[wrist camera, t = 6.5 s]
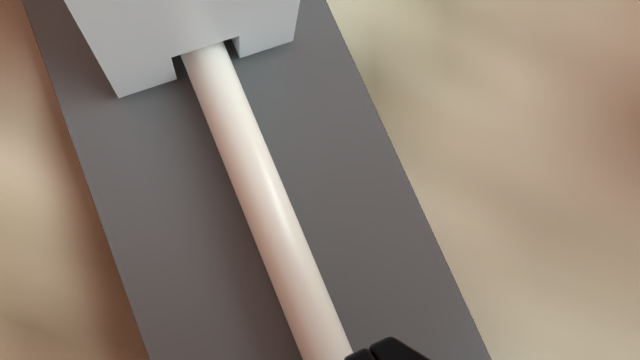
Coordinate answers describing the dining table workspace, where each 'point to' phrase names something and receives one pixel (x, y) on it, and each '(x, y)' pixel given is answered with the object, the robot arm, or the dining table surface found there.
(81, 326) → the dining table surface
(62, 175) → the dining table surface
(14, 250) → the dining table surface
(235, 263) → the cord comb board
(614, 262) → the dining table surface
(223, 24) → the open-bottomed white box
